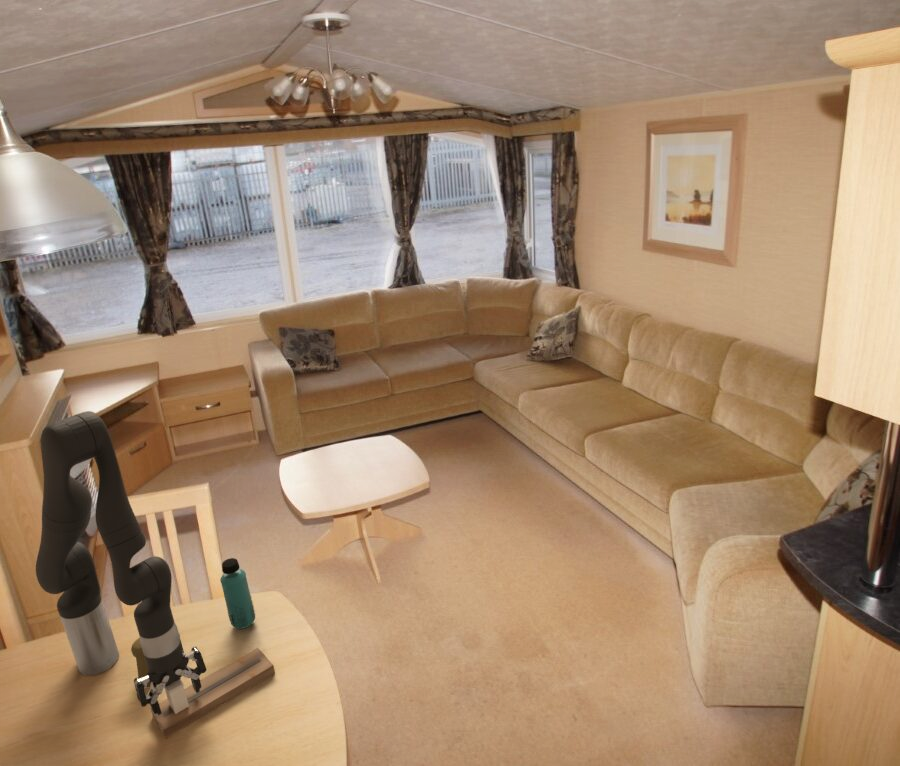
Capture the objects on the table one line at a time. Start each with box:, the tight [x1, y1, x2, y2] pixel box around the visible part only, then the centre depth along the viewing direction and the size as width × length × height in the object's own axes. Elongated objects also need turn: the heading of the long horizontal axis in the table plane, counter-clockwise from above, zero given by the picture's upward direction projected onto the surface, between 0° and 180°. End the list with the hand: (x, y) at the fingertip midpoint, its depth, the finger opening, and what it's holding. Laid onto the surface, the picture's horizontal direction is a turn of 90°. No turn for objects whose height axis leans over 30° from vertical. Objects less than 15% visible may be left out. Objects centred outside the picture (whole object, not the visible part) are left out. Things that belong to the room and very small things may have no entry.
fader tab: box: [164, 679, 189, 714], centre depth 151 cm, size 4×3×7 cm
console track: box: [150, 647, 276, 740], centre depth 157 cm, size 8×26×3 cm, turn 131°
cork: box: [130, 637, 152, 688], centre depth 162 cm, size 6×6×11 cm
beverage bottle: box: [220, 557, 257, 630], centre depth 175 cm, size 6×7×20 cm
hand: (177, 701), depth 151 cm, fingers open, 8 cm apart
